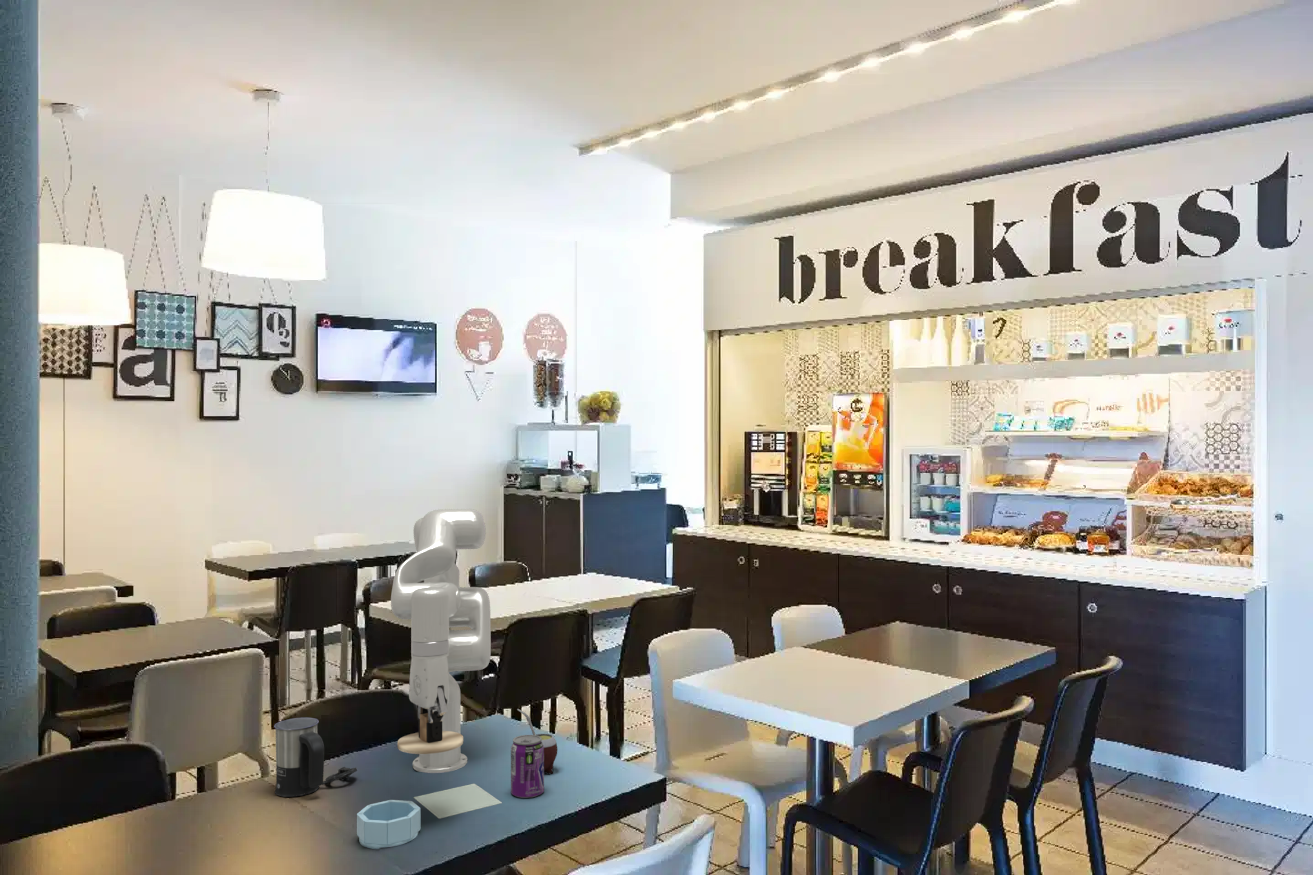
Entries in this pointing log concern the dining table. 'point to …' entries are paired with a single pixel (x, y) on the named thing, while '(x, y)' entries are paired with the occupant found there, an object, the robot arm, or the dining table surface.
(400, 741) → the lid
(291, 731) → the milk frother
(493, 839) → the dining table surface
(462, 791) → the mat
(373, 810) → the bowl
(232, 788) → the dining table surface
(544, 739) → the mate gourd
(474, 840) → the dining table surface
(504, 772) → the dining table surface
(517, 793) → the beverage can
